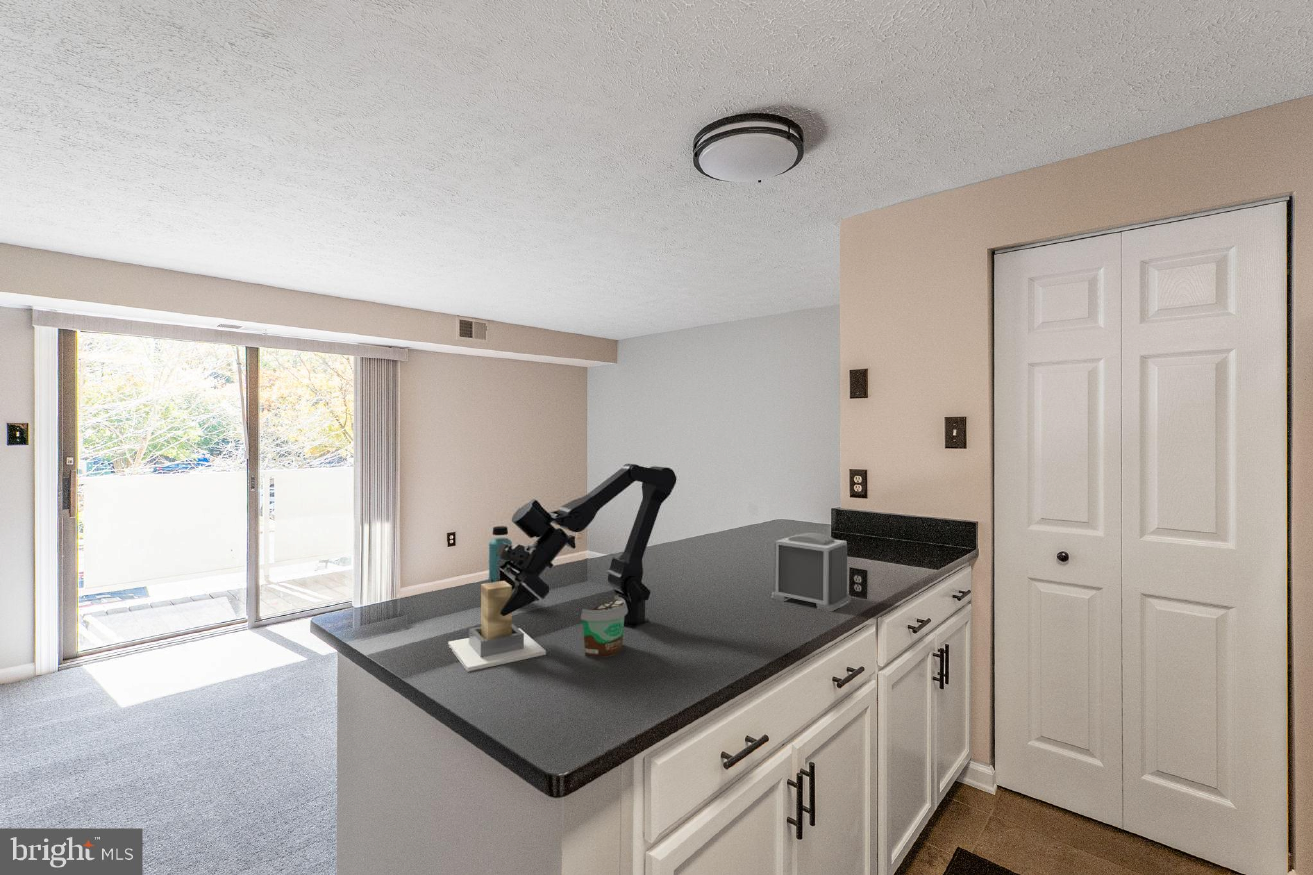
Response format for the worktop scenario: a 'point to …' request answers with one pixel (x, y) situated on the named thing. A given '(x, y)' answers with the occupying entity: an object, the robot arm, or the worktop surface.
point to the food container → (604, 628)
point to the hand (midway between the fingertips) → (494, 609)
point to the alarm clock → (811, 569)
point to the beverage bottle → (493, 549)
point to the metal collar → (495, 642)
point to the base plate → (475, 662)
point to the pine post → (495, 609)
